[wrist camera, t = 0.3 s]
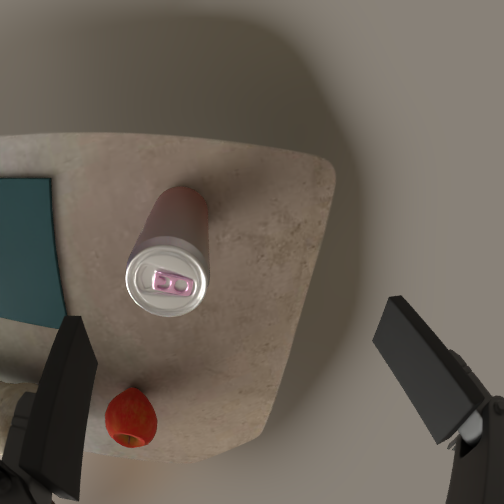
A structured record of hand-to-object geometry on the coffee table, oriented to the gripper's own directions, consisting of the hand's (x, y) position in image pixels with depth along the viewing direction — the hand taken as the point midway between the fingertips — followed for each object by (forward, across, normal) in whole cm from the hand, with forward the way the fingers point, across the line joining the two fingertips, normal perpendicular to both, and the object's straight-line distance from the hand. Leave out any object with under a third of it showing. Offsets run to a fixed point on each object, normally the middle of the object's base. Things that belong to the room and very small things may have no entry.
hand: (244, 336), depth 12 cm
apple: (+23, -13, -34) cm, 44 cm away
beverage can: (+24, -3, -3) cm, 24 cm away
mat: (+24, -30, -9) cm, 39 cm away
